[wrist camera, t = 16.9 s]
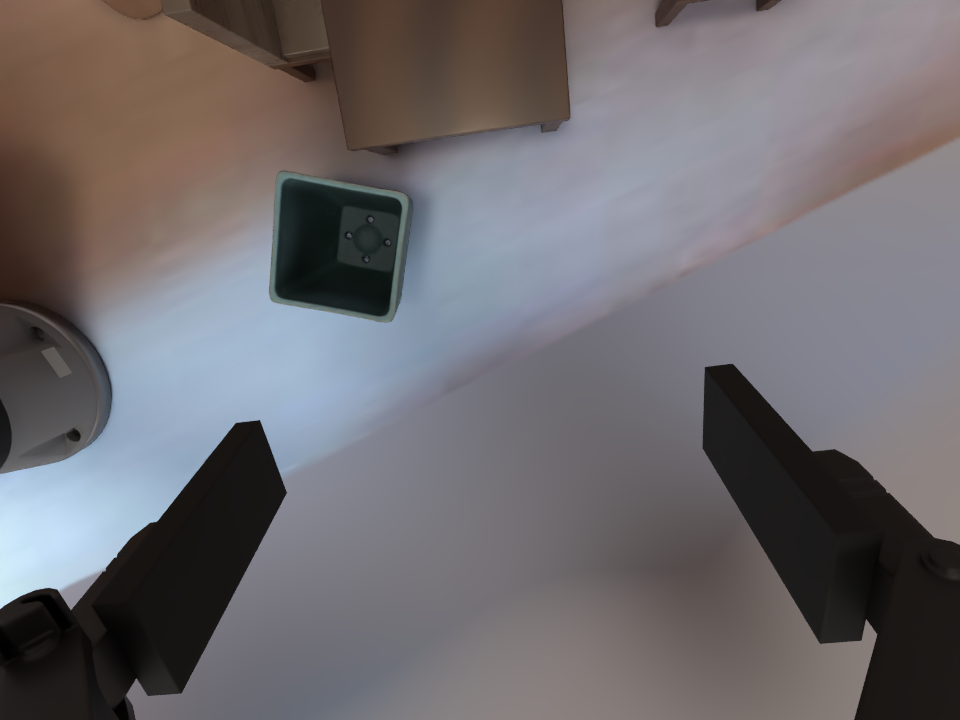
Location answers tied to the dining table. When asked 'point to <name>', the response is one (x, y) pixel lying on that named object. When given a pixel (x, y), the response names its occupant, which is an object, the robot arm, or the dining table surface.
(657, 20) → the sage chair
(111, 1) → the beer glass
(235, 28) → the taupe chair
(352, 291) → the flower pot
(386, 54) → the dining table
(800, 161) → the dining table surface
